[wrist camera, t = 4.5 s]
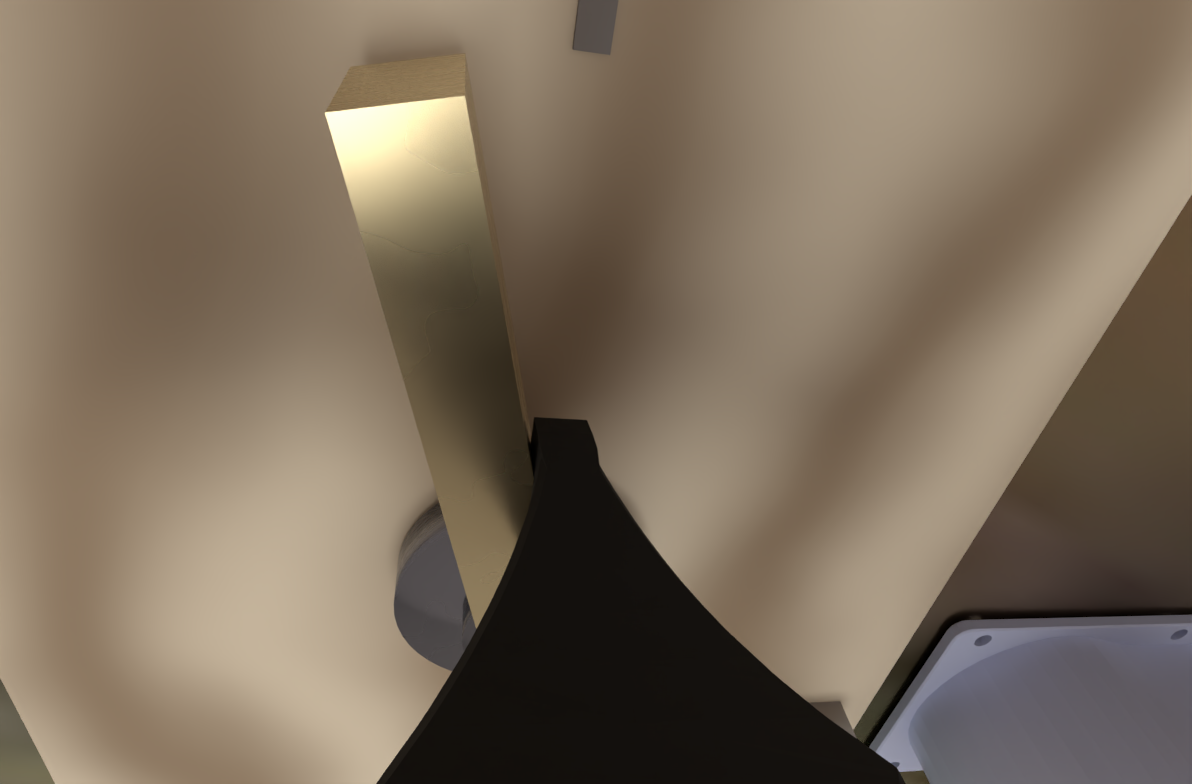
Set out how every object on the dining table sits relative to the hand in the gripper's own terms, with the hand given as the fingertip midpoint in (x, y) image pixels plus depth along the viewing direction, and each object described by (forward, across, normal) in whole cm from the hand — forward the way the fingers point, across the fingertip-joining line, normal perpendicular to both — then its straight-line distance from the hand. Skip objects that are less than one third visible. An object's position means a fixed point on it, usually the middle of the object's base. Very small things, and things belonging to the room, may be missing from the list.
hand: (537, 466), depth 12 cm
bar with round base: (+2, +1, 0) cm, 2 cm away
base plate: (+3, 0, +3) cm, 5 cm away
